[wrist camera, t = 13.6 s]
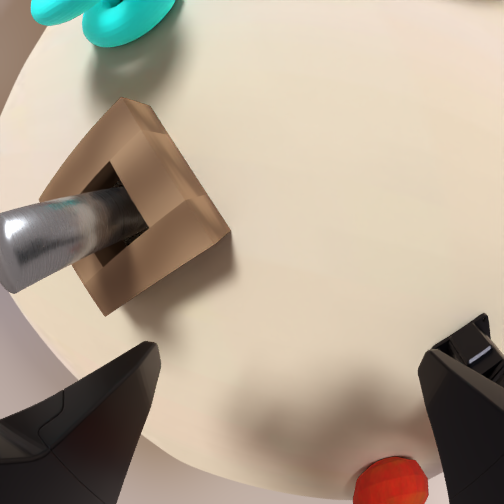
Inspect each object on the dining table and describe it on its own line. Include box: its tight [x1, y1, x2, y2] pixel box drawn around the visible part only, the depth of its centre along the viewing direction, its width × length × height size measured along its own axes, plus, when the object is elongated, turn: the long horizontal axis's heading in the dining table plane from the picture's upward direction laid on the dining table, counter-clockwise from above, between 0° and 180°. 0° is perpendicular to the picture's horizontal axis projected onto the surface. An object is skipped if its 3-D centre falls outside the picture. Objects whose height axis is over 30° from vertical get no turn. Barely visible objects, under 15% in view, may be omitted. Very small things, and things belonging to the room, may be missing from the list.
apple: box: [353, 457, 429, 504], centre depth 21 cm, size 10×10×12 cm
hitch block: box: [39, 97, 231, 317], centre depth 20 cm, size 12×12×4 cm
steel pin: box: [0, 186, 149, 294], centre depth 15 cm, size 4×4×13 cm
